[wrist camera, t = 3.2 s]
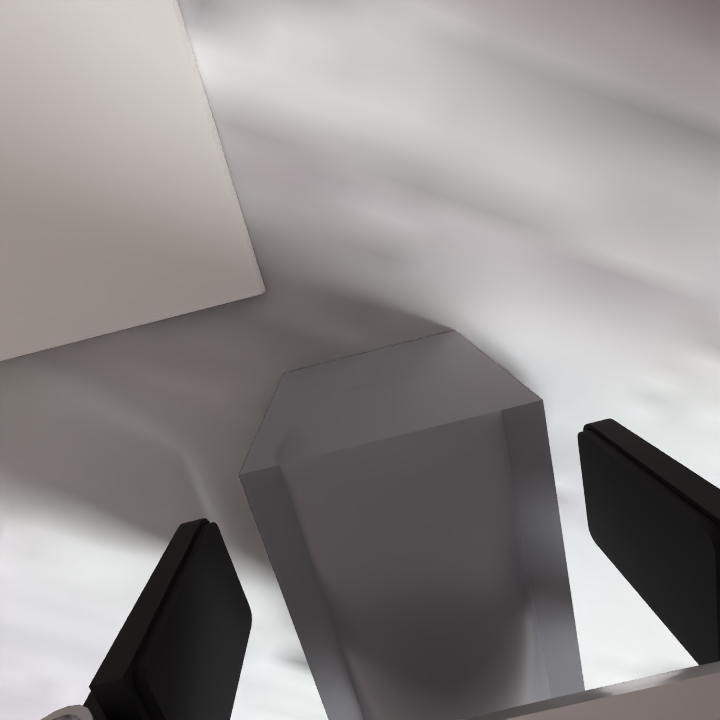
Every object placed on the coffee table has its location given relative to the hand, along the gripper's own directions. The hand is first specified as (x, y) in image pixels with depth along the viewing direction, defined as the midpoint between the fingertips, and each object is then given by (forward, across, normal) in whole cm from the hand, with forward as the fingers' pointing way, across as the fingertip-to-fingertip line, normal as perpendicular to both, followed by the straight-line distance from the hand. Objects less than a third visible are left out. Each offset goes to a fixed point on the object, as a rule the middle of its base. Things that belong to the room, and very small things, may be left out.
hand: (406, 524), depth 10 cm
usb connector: (+2, 0, +1) cm, 2 cm away
